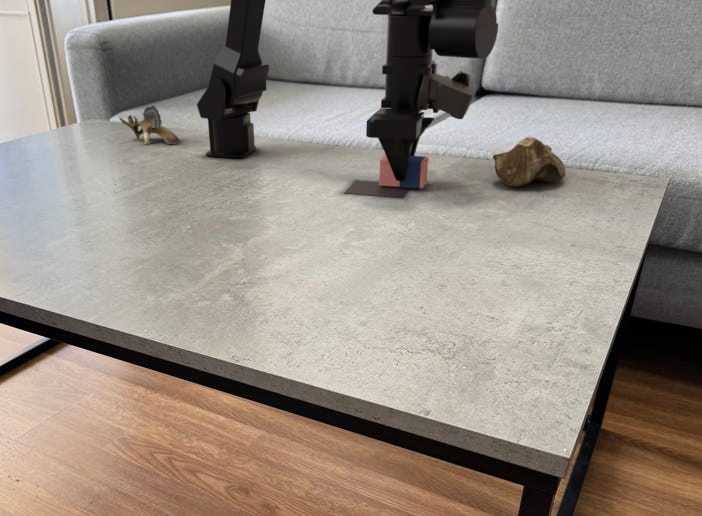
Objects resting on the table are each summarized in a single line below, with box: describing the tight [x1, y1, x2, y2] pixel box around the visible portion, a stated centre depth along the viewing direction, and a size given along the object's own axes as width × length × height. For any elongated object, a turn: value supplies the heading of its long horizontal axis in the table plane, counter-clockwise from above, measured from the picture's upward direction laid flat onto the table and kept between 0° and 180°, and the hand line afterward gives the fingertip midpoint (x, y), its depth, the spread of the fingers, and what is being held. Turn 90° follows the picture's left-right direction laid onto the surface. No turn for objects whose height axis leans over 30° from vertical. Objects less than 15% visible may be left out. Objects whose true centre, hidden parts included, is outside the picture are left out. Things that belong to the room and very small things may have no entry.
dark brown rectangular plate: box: [343, 179, 410, 199], centre depth 96 cm, size 8×6×1 cm
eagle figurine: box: [118, 105, 180, 146], centre depth 123 cm, size 8×7×9 cm
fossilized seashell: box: [492, 136, 566, 187], centre depth 95 cm, size 8×7×10 cm
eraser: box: [378, 154, 429, 189], centre depth 96 cm, size 6×3×4 cm, turn 69°
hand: (402, 177), depth 96 cm, fingers closed on eraser, 3 cm apart
